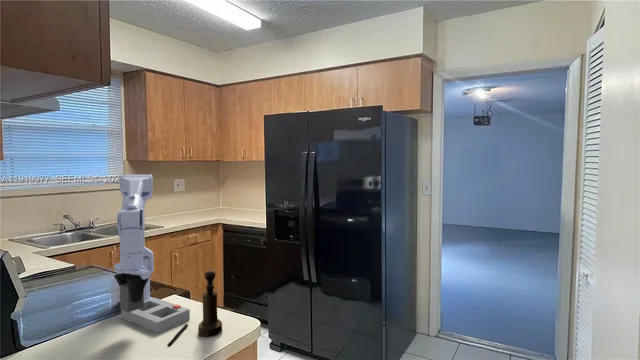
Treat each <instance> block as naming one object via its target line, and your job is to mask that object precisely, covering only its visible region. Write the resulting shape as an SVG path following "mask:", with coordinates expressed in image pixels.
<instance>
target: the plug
mask: <svg viewBox="0 0 640 360" xmlns="http://www.w3.org/2000/svg"><path fill="white" fill-rule="evenodd" d="M119 300H120V302H119V306H120V307H119V308H120V311H121V310H123V311H126V312H131V311H134V310H137V309H140V308H143V307H144V291H143V294H142V298H141V301H138V302H135V303H134V302H133V301H132V297H131V290H130V286H129V284H128V283H124V284H121V285H120V286H119Z"/></svg>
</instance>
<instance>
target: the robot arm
mask: <svg viewBox="0 0 640 360" xmlns="http://www.w3.org/2000/svg"><path fill="white" fill-rule="evenodd" d="M153 178H154V177H153V175H152V174H151V173H149V174H123V173H122V174H121V175H120V177H119V192H120V194H121V196H122V203H121V209H120V211H117V215H116V226H117V230H118V232H117V233H118V237H119V262H118V263H114V264H113V270H114V272H115V273H116V274H114V275H113V277H114V279H115V281H116V282H117V284H118V285H119V287H120V285H121V284H124V283H128V284H129V286H130V290H131V297H132V301H133V302H134V303H135V302H138V301H141V298H142V294H143V291H144V301H145V300H148V299H151V298H153V297H152V296H151V283H150V282H151V275H152V274H154V271H155V270H154V269H155V266H154V263H155V261H154V260H155V259H154V252H153V251H152V249H149V248H148V247H146V246H145V245H146V244H145V243H146V242H145V237H146V233H145V232H146V231H145V230H146V229H145V228H146V227H145V225H146V224H145V218H146V217H145V215H146V213H145V207H146V202H147V201H148V200H150V199H151V198H152V197H153V193H154V192H153V191H154V188H153V187H154V182H153ZM118 303H120V299H119V300H118Z"/></svg>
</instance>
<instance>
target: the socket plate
mask: <svg viewBox="0 0 640 360" xmlns="http://www.w3.org/2000/svg"><path fill="white" fill-rule="evenodd" d="M190 313H191V311H190V308H188V307H185V306H181V305H180V304H174V303H172V302H169V301H166V300H163V299H160V298H157V297H152V298H151V299H148V300H145V301H144V307H143V308H140V309H137V310H134V311H131V312H126V311H123V310H121V309H120V314H121V317H120V319H122V318H124V319H126V320H125V321H127V320H129V321H131V322H130V323H132V322H134V323H136V324H135V325H137V324H138V325H137V326H139V325H141V326H140V327H142V326H143V327H142V328H144V327H145V329H146V328H148V329H147V330H149V329H150V330H149V331H151V330H152V332H154V331H155V332H154V333H156V332H157V333H161V332H163V331H165V330H167V329H170V328H172V327H174V326H177V325H178V323H179V324H181V323H184V322H185V320H186V321H188V320H190V318H191V317H190V316H191V315H190ZM124 319H123V320H124ZM129 321H128V322H129ZM180 322H181V323H180ZM134 323H133V324H134ZM176 324H177V325H176ZM171 326H172V327H171ZM169 327H170V328H169Z"/></svg>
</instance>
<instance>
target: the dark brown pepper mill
mask: <svg viewBox="0 0 640 360" xmlns="http://www.w3.org/2000/svg"><path fill="white" fill-rule="evenodd" d="M216 275H217V274H216V271H215V270H214V269H213V268H209V269H206V270H205V271H204V279H205V280H206V282H207V284H205V289H206V291H205V292H203V293H202V320H201V322H199V324H198V329H197V332H198V333H197V334H198V335H199V336H200V337H202V338H203V337H204V338H212V337H215V336H218V335H221V333H222V331H223V323H222V322H223V321H221V320H220V319H219V318H218V292H217V291H214V288H215V284H214V282H213V281H214V279H215V278H216Z"/></svg>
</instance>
